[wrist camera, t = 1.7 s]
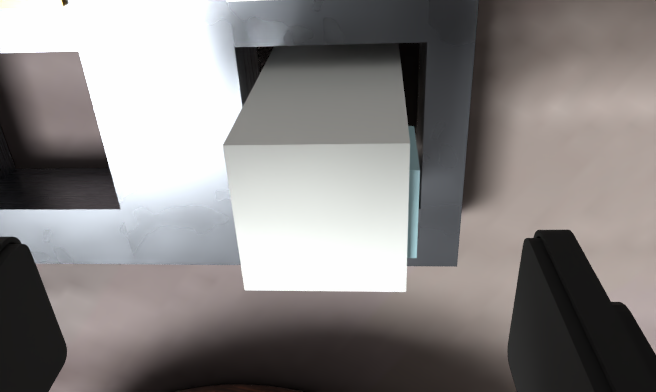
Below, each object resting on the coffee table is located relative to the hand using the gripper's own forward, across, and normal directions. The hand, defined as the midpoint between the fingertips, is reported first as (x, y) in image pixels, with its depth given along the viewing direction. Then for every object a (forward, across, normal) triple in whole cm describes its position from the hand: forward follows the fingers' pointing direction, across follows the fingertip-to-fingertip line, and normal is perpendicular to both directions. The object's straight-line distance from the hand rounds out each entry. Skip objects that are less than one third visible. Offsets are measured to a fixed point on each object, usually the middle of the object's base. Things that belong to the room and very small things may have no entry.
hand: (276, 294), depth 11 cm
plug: (+11, -1, 0) cm, 11 cm away
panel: (+11, +4, 0) cm, 11 cm away
